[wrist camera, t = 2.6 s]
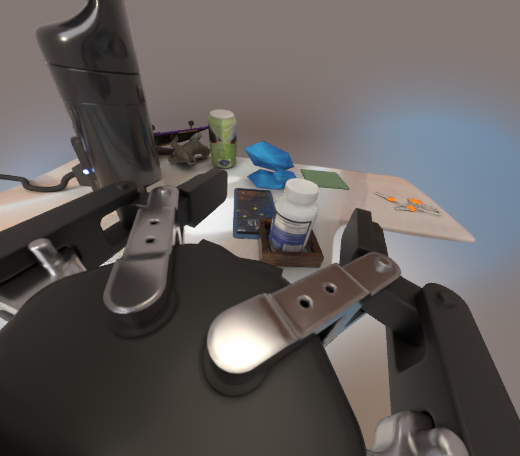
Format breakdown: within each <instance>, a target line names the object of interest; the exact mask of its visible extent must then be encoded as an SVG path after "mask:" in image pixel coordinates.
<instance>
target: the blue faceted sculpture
mask: <svg viewBox="0 0 520 456" xmlns="http://www.w3.org/2000/svg"><path fill="white" fill-rule="evenodd" d="M245 150H246V152H247V154H248V155H249V157H250V159H251V161H252V162H253V164H254V165H255V166H259V167H263V168H267V169H270V170H274V171H276V172H275V173H274V172H270V171H266V170H262V169H259V170H258V171H256V172H254V173H252V174H251V175H249V176H247V177H248V178H249V179H250V180H251V181H252V182H253V183H254V184H255V185H256V186H257V187H258V188H270V189H283V188H284V187H285V184H286V182H287V181H288V180H289V179H293V178H296V176H295V174H294V172H291V171H287V169H290V168H292V167H294V165H293V163H292V160H291V158H290V156H289V154H288V153H287V152H285V151H282V150H280V149H278V148H276V147H274V146H272V145H270V144H268V143H266V142H264V141H262V142H259V143H257V144H254V145H252V146H249V147H247V148H245Z"/></svg>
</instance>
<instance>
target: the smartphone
mask: <svg viewBox="0 0 520 456" xmlns="http://www.w3.org/2000/svg"><path fill="white" fill-rule="evenodd" d="M274 209H275V206H274V202H273V198H272V195H271V191H269V190H256V189H243V188H236V189H235V190H234V218H233V237H234V238H239V239H245V237H247V239H258V237H259V235H258V220H259V217H266V218H273V214H274ZM265 230H266V238H267V239H269V234H270V229H265Z"/></svg>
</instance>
